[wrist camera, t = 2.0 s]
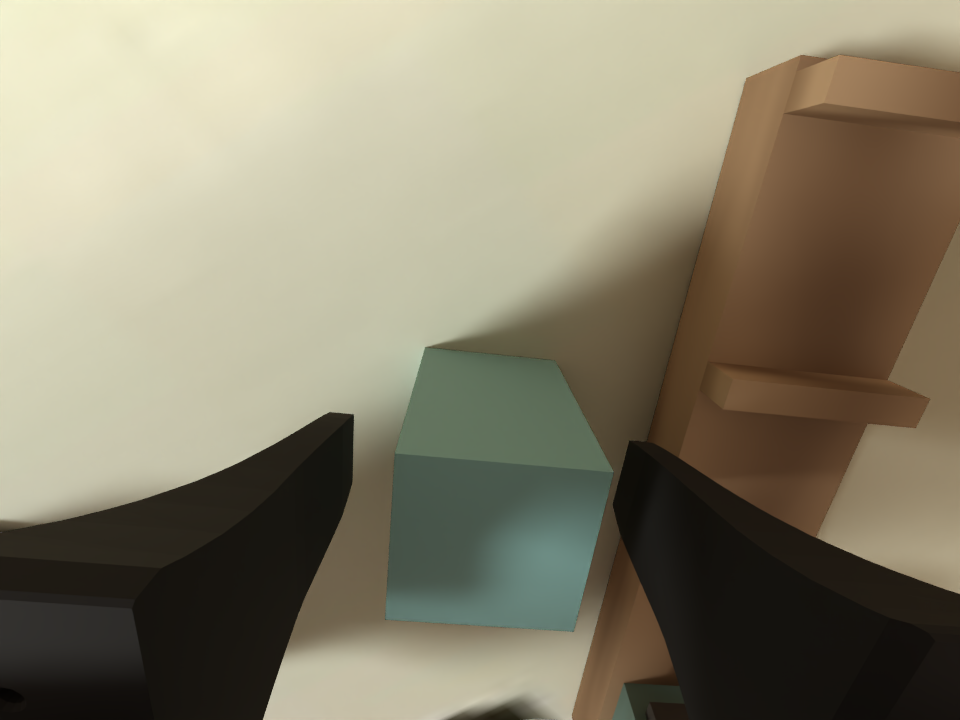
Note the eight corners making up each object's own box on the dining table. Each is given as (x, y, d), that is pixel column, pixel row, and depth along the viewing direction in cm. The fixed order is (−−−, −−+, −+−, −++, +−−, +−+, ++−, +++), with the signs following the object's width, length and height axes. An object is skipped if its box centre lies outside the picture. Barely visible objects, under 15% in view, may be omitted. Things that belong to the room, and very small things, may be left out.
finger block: (415, 475, 15) (383, 640, 10) (425, 347, 14) (394, 453, 8) (532, 485, 15) (568, 652, 10) (554, 360, 14) (613, 472, 8)
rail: (571, 715, 19) (636, 1042, 12) (746, 78, 11) (1289, -154, 4) (683, 721, 20) (815, 1044, 12) (931, 104, 12) (1773, -62, 4)
